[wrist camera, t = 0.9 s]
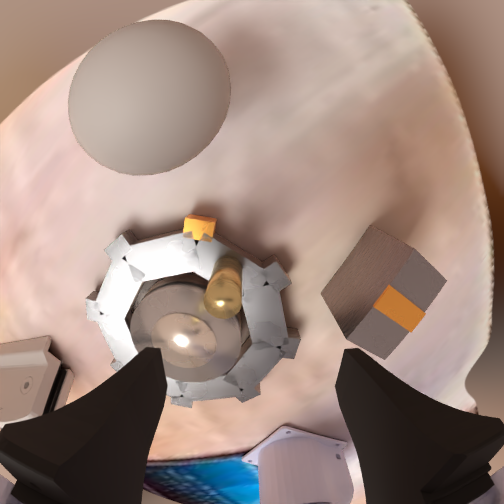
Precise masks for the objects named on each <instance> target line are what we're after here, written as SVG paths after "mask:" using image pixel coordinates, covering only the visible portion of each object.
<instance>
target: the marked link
mask: <svg viewBox="0 0 504 504" xmlns="http://www.w3.org/2000/svg"><path fill="white" fill-rule="evenodd" d="M446 281H447V280H446V279H445V278H444V277H443V276H442V275H441V274H440V273H439V272H438V271H437V270H436V269H435V268H434V267H433V266H432V265H431V264H430V263H429V262H428V261H427V260H426V259H425V258H424V257H423V256H422V255H421V254H420V253H419V252H418V251H416V250H415V249H414V248H412V247H410V246H409V245H407V244H405V243H403V242H401V241H399V240H397V239H396V238H394V237H392V236H390V235H388V234H386V233H384V232H382V231H380V230H378V229H376V228H375V227H373V226H371V225H370V226H369V227H368V229H367V230H366V232H365V233H364V234H363V236H362V237H361V239H360V240H359V242H358V243H357V245H356V246H355V247H354V249H353V250H352V252H351V253H350V254H349V256H348V257H347V259H346V260H345V261H344V263H343V264H342V266H341V267H340V268H339V270H338V271H337V272H336V274H335V275H334V276H333V278H332V279H331V280H330V282H329V283H328V284H327V286H326V287H325V288H324V290H323V291H322V292H321V295H322V297H323V299H324V300H325V302H326V304H327V306H328V307H329V309H330V311H331V313H332V314H333V316H334V318H335V320H336V322H337V323H338V325H339V327H340V329H341V331H342V332H343V334H344V336H345V338H346V339H347V340H349V341H350V342H352V343H354V344H356V345H358V346H360V347H362V348H363V349H365V350H367V351H369V352H371V353H373V354H375V355H376V356H378V357H380V358H382V359H384V360H385V359H386V358H387V357H388V356H389V355H390V354H391V353H392V351H393V350H394V349H395V348H396V347H397V346H398V345H399V343H400V342H401V341H402V340H403V339H404V338H405V336H406V335H407V334H408V333H409V331H410V332H412V331H413V330H414V328H415V327H416V326H417V325H418V323H419V322H420V321H421V320H422V318H423V317H424V316H425V314H426V313H424V312H425V311H426V310H427V308H428V307H429V306H430V304H431V303H432V302H433V300H434V299H435V297H436V296H437V295H438V293H439V292H440V290H441V289H442V287H443V286H444V284H445V283H446Z"/></svg>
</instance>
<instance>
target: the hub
mask: <svg viewBox="0 0 504 504" xmlns="http://www.w3.org/2000/svg"><path fill="white" fill-rule="evenodd" d="M208 283H209V281H208V280H207V279H205V278H203V277H201V276H199V275H194V274H178V275H173V276H168V277H166V278H164V279H162V280H160V281H158V282H157V283H156V284H154V285H153V286H152V287H151V288H150V290H149V291H148V292H147V294H146V295H145V296H144V298H143V299H142V301H141V302H140V303H139V305H138V306H137V308H136V309H135V311H134V313H133V316H132V319H131V324H130V332H131V338H132V342H133V344H134V347H135V348H136V350H137V352H138V353H139V352H141V351H142V350H143V349H144V348H145V347H153V348H161V354H162V359H163V365H164V370H165V375H166V377H169V378H171V379H174V380H178V381H183V382H205V381H209V380H213V379H215V378H218V377H220V376H221V375H223V374H225V373H226V372H227V371H229V370H230V369H231V368H232V367H233V365H234V364H235V362H236V361H237V359H238V357H239V354H240V350H241V315H240V311H239V312H238V313H237V314H236V315H235V316H233V317H231V318H228V319H219V318H216V317H214V316H212V315H211V314H209V313H208V312H207V310H206V309H205V306H204V296H205V293H206V289H207V286H208Z"/></svg>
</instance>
